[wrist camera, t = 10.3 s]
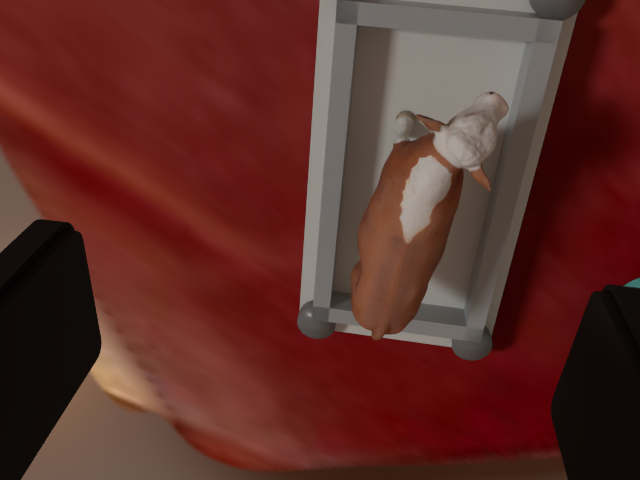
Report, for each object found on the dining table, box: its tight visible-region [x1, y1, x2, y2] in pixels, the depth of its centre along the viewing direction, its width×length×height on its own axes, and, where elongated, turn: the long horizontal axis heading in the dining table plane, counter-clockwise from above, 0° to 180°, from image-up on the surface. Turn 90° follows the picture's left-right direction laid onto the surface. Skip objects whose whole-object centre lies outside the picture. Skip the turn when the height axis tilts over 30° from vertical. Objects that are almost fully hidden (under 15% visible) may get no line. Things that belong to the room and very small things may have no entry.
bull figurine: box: [350, 91, 509, 340], centre depth 29 cm, size 4×13×8 cm, turn 162°
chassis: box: [297, 0, 586, 360], centre depth 32 cm, size 22×12×3 cm, turn 176°
